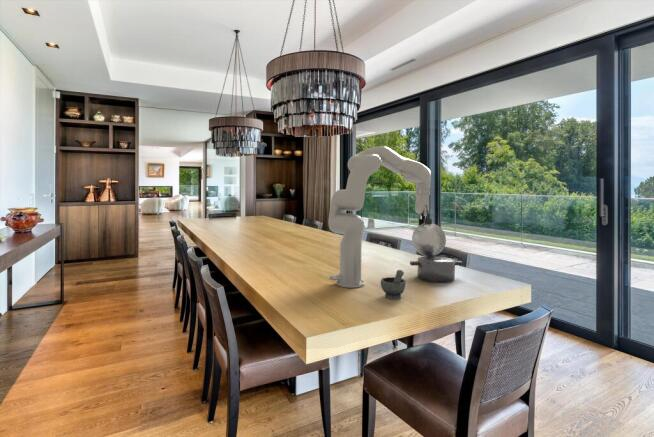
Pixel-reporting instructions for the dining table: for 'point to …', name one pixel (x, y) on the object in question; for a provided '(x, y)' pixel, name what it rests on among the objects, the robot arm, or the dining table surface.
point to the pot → (436, 269)
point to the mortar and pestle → (393, 286)
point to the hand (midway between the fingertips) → (422, 226)
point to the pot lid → (428, 238)
